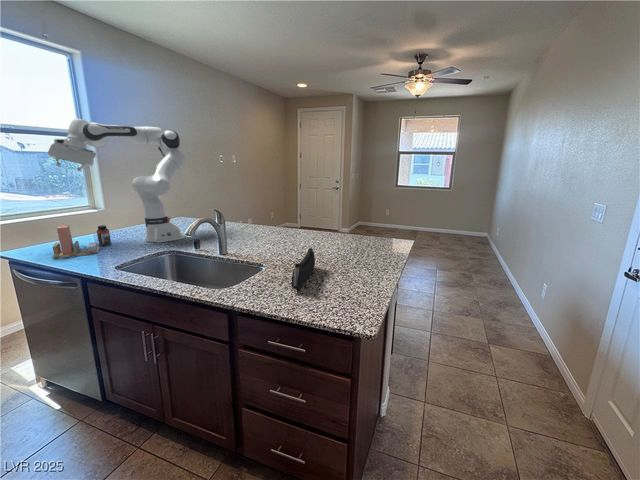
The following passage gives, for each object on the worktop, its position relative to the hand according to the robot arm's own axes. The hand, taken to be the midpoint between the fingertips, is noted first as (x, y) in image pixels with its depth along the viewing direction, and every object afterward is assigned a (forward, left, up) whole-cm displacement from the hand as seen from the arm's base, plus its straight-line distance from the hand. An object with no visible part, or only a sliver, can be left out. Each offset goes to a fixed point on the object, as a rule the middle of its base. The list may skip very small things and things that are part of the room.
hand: (68, 168), depth 175 cm
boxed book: (+3, +25, -42) cm, 49 cm away
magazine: (-92, +113, -44) cm, 152 cm away
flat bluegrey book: (-7, +24, -42) cm, 49 cm away
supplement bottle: (-12, +11, -44) cm, 46 cm away
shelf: (0, +24, -43) cm, 50 cm away
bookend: (-3, +25, -42) cm, 49 cm away
